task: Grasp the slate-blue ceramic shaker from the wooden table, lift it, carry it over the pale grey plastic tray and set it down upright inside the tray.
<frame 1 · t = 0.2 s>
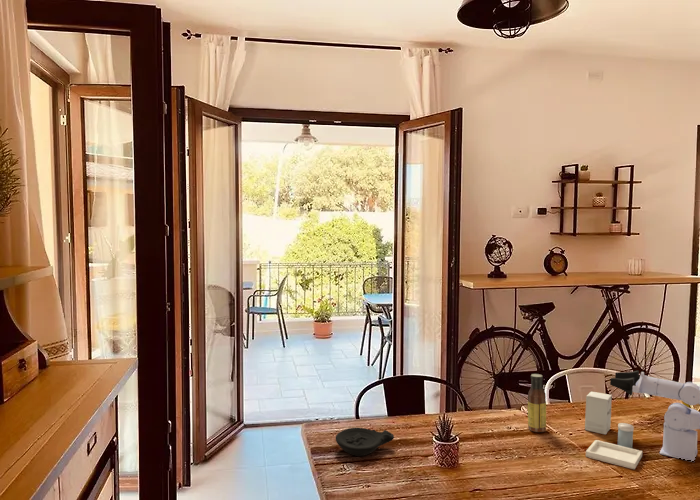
hand: (613, 378, 186), 21 cm above the table, tool horizontal, fingers open, 7 cm apart
sauce bottle: (536, 430, 194), on the table
oil lamp: (365, 451, 174), on the table
tray: (613, 456, 172), on the table
shaker: (624, 446, 180), on the table
supplement box: (597, 430, 195), on the table
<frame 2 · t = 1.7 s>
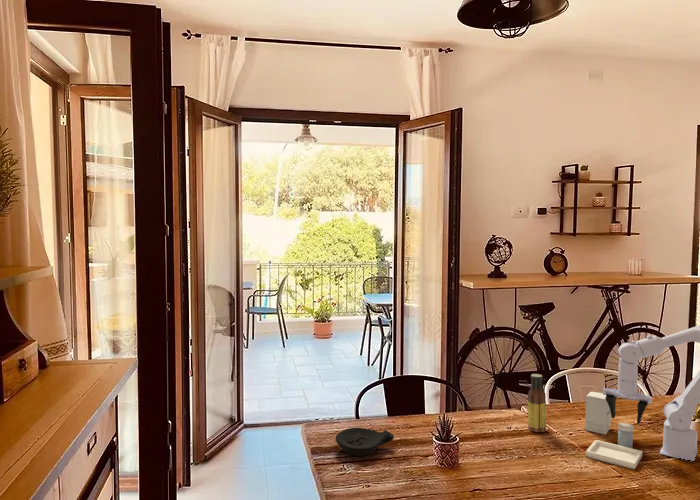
hand: (625, 420, 180), 9 cm above the table, tool pointing down, fingers open, 7 cm apart
nothing on the table moved.
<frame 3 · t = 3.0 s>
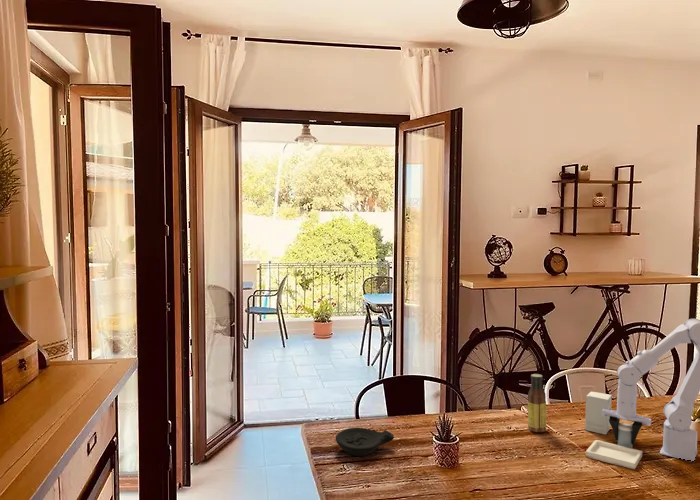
hand: (625, 441, 180), 2 cm above the table, tool pointing down, fingers closed on shaker, 4 cm apart
shaker: (624, 446, 180), on the table, touching gripper
everything else where it was.
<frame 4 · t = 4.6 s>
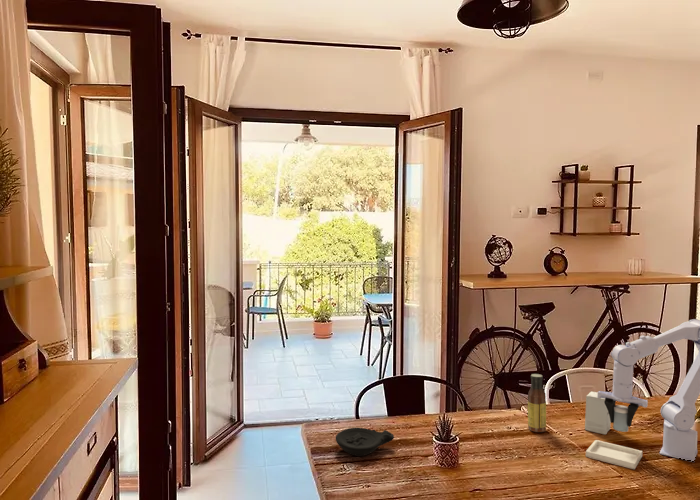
hand: (620, 423, 176), 9 cm above the table, tool pointing down, fingers closed on shaker, 4 cm apart
shaker: (620, 429, 176), point 7 cm above the table, touching gripper
everything else where it was.
when the fingers open (3 cm above the table, at t = 6.5 s): shaker stays where it is, resting on tray.
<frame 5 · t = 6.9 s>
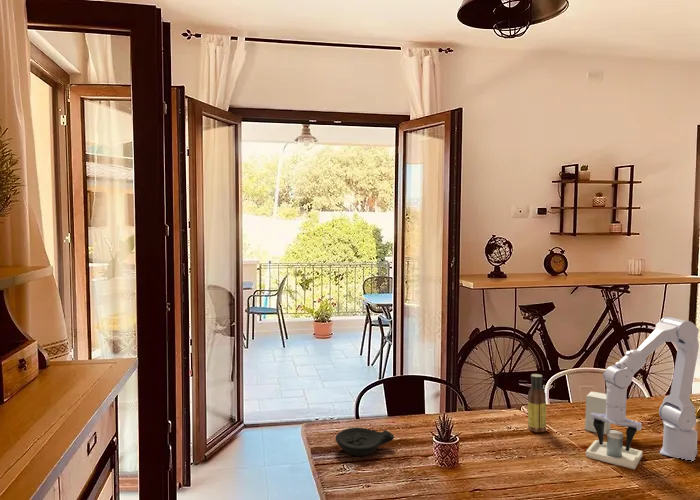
hand: (614, 446, 172), 3 cm above the table, tool pointing down, fingers open, 7 cm apart
shaker: (614, 454, 172), point 1 cm above the table, touching tray
everything else where it was.
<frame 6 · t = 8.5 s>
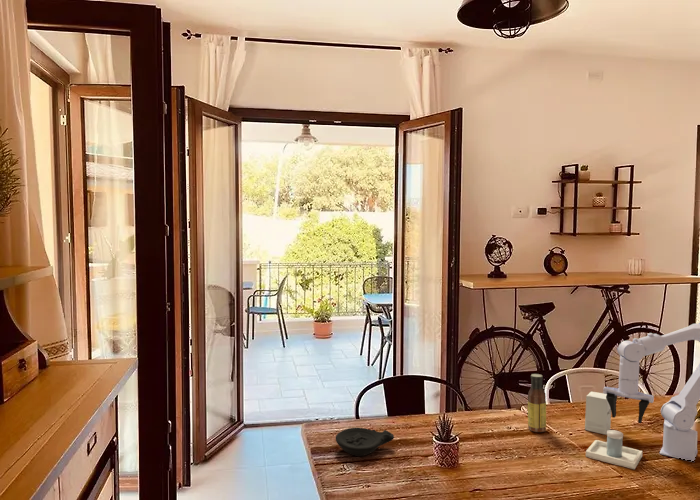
hand: (626, 419, 176), 10 cm above the table, tool pointing down, fingers open, 7 cm apart
nothing on the table moved.
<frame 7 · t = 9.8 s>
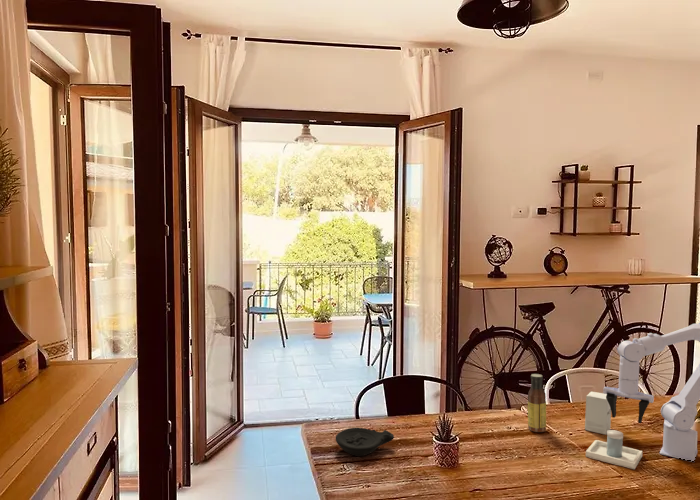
hand: (626, 419, 176), 10 cm above the table, tool pointing down, fingers open, 7 cm apart
nothing on the table moved.
at the end: shaker inside the target area on the tray (0.2 cm from its centre), point 0.5 cm above the tray's base; shaker tilted 0°; the gripper is holding nothing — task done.
